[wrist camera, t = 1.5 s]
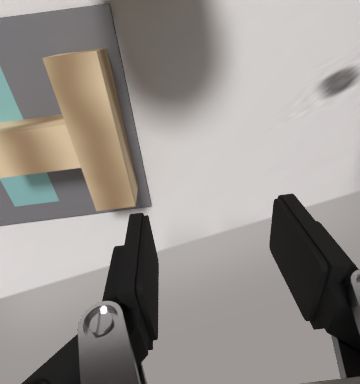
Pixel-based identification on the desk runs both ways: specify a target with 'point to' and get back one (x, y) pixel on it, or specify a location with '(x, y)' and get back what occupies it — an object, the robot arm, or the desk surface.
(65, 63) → the pine T block
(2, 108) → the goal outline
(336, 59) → the desk surface
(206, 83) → the desk surface
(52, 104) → the rubber mat
